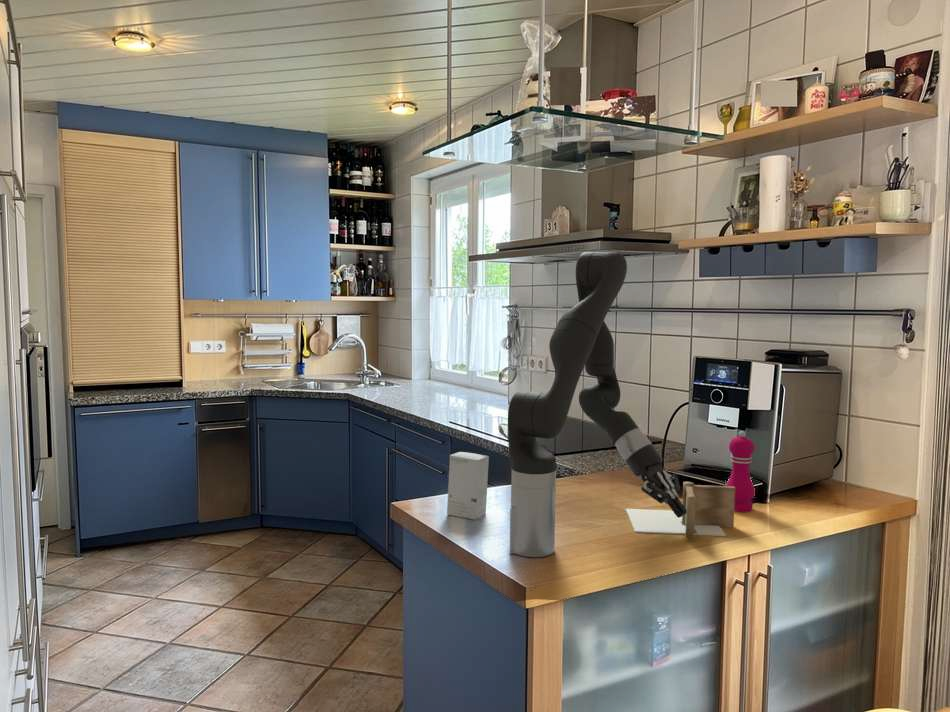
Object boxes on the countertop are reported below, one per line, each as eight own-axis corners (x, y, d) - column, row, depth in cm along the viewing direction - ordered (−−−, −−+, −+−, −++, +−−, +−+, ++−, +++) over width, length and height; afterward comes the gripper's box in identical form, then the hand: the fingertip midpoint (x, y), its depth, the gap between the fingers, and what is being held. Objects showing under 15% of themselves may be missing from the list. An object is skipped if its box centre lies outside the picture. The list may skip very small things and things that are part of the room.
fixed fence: (683, 526, 158) (684, 484, 157) (680, 522, 161) (682, 481, 160) (734, 528, 157) (736, 485, 156) (731, 525, 159) (733, 483, 159)
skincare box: (446, 515, 164) (447, 455, 163) (458, 509, 170) (458, 450, 169) (477, 520, 161) (478, 459, 160) (488, 513, 166) (489, 454, 165)
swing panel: (694, 539, 147) (695, 497, 146) (685, 538, 148) (687, 497, 147) (691, 523, 158) (693, 484, 157) (683, 523, 158) (684, 484, 157)
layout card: (634, 532, 154) (635, 530, 154) (625, 509, 170) (625, 508, 170) (725, 536, 152) (726, 534, 152) (707, 513, 169) (707, 511, 168)
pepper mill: (754, 514, 168) (758, 434, 166) (723, 510, 170) (726, 432, 169) (753, 506, 175) (757, 429, 173) (724, 503, 177) (726, 427, 176)
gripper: (632, 446, 154) (679, 512, 146) (663, 439, 163) (708, 500, 156) (612, 465, 158) (656, 530, 151) (643, 457, 168) (686, 517, 160)
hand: (683, 515), depth 153 cm, fingers closed
